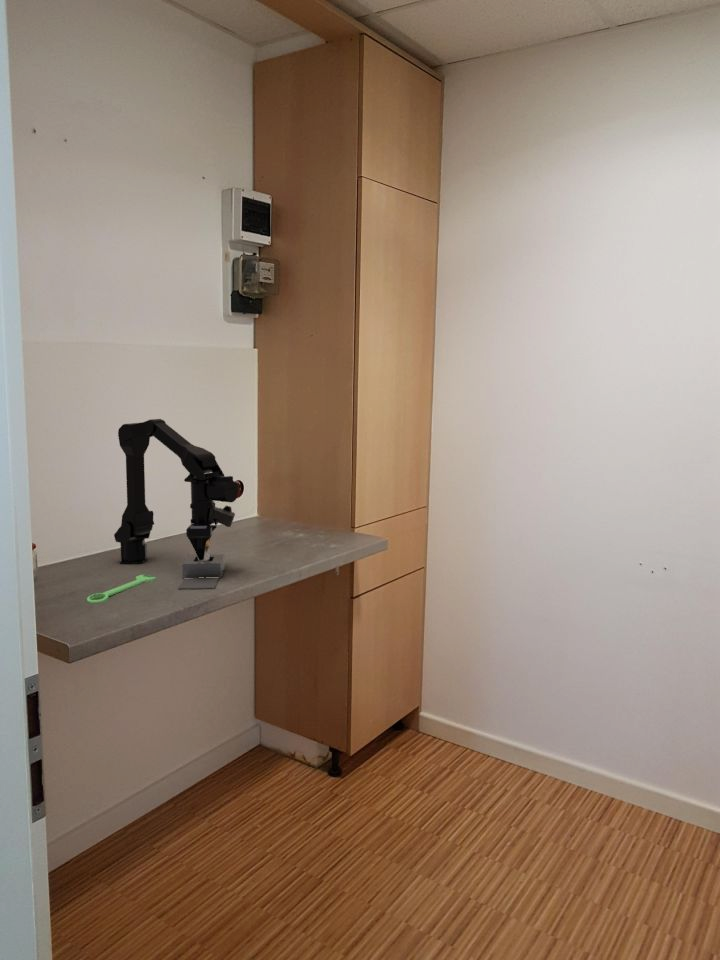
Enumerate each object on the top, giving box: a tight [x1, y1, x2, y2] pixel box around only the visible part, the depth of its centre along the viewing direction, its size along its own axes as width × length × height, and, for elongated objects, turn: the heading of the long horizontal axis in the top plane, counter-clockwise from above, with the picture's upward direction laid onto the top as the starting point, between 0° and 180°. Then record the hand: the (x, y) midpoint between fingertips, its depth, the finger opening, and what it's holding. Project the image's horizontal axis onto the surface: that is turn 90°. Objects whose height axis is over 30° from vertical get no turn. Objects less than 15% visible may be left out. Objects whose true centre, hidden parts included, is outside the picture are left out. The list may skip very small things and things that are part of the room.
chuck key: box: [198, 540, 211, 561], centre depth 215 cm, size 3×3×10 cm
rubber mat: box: [178, 578, 219, 590], centre depth 204 cm, size 9×9×1 cm
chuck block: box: [181, 553, 226, 579], centre depth 215 cm, size 10×10×4 cm
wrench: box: [86, 574, 157, 604], centre depth 200 cm, size 25×2×5 cm
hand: (203, 556), depth 215 cm, fingers open, 8 cm apart
